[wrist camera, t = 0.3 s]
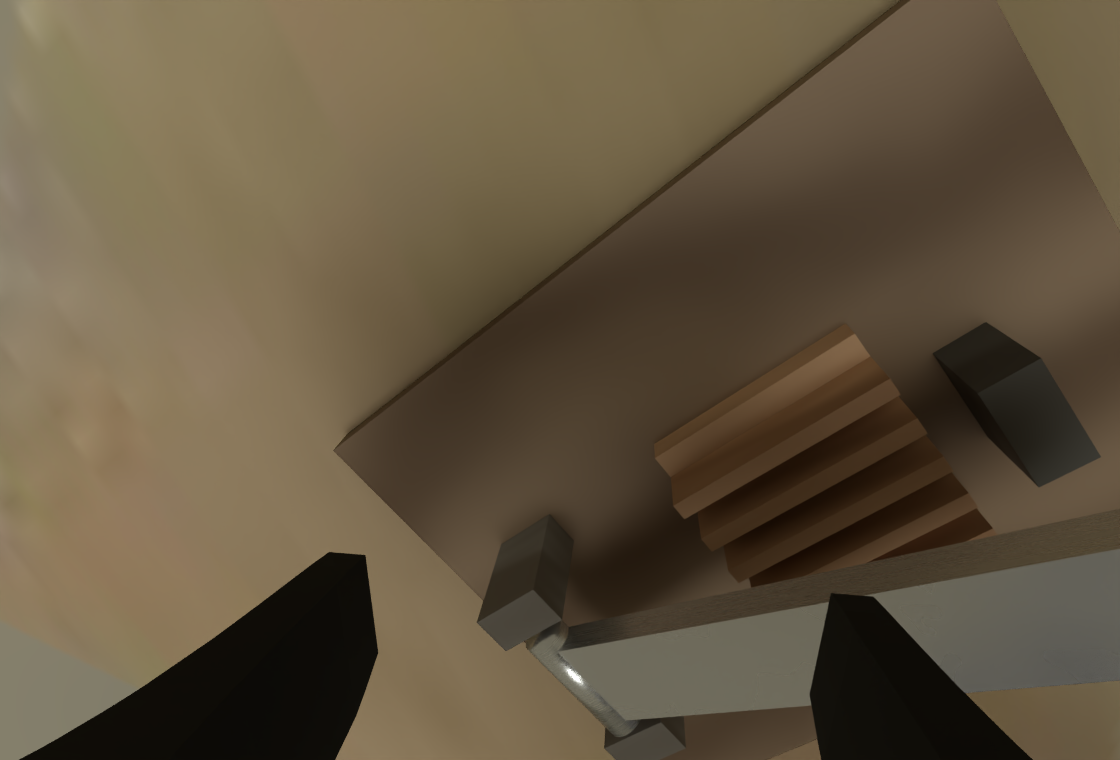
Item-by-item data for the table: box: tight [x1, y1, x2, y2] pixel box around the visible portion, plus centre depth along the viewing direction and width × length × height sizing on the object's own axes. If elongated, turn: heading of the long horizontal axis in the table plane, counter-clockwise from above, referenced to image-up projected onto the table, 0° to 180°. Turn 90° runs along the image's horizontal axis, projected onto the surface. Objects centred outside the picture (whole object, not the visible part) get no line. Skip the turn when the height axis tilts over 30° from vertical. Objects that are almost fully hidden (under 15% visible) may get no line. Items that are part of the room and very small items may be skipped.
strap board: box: [333, 0, 1120, 760], centre depth 18 cm, size 18×20×4 cm
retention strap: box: [526, 509, 1120, 737], centre depth 15 cm, size 4×15×1 cm, turn 130°
